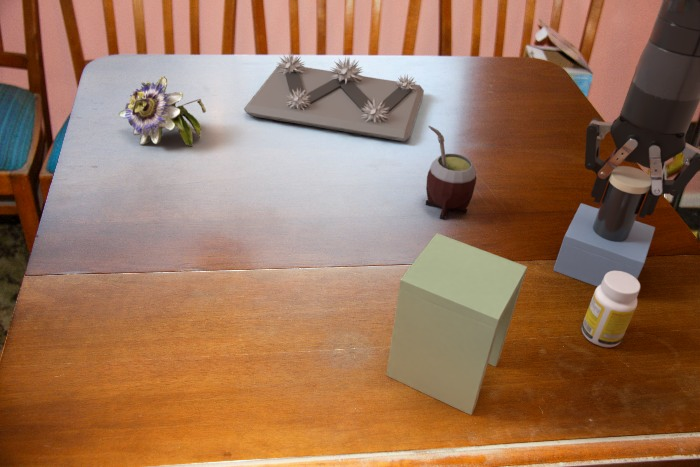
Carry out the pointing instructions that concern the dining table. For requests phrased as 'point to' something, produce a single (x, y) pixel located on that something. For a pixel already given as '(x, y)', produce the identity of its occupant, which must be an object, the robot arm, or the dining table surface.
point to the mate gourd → (450, 181)
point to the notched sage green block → (452, 320)
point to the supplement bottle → (611, 309)
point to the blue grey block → (600, 250)
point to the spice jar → (621, 203)
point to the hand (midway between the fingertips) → (620, 207)
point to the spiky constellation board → (338, 100)
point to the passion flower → (159, 113)
